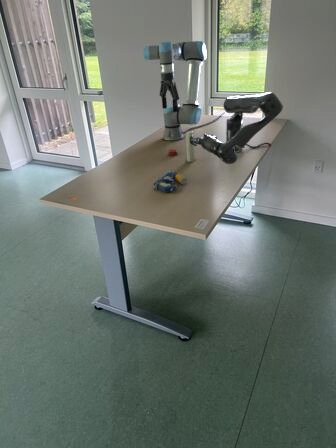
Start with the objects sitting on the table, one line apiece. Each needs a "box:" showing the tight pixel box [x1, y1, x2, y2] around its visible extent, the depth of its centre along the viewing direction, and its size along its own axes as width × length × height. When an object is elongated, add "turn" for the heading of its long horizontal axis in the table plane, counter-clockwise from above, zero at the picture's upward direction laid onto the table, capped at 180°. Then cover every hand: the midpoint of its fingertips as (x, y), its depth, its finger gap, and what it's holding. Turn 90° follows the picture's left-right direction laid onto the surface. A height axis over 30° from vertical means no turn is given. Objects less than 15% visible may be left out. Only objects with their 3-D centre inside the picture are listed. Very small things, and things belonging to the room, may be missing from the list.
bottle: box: [185, 130, 195, 163], centre depth 202 cm, size 5×5×18 cm
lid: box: [168, 148, 178, 157], centre depth 218 cm, size 5×6×2 cm
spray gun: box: [152, 170, 188, 193], centre depth 177 cm, size 21×4×15 cm
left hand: (170, 110), depth 204 cm, fingers open, 13 cm apart
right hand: (197, 136), depth 188 cm, fingers open, 8 cm apart
